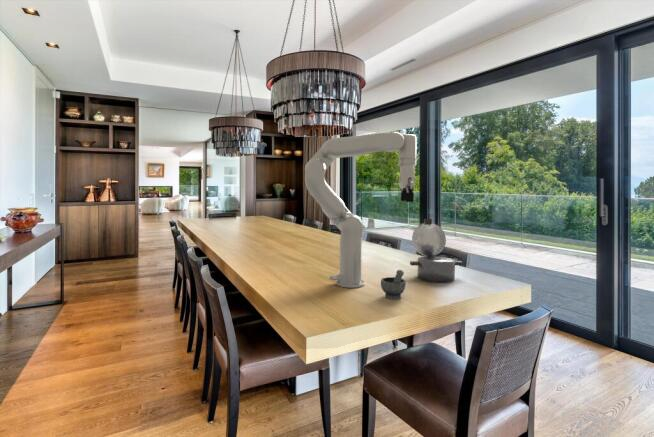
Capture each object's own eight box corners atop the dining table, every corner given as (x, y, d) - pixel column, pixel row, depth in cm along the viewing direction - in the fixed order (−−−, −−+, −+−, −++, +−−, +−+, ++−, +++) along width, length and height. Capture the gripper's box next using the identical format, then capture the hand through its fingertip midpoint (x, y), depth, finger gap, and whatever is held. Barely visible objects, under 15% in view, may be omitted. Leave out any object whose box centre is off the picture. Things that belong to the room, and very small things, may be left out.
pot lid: (411, 218, 181) (410, 219, 184) (413, 256, 178) (411, 256, 181) (444, 218, 182) (442, 219, 185) (446, 256, 179) (444, 256, 182)
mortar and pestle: (376, 294, 144) (377, 265, 143) (397, 292, 148) (397, 264, 146) (390, 303, 134) (391, 272, 133) (412, 300, 137) (412, 270, 136)
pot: (415, 283, 162) (416, 263, 161) (405, 273, 180) (405, 255, 179) (468, 282, 163) (469, 263, 162) (452, 273, 181) (453, 255, 180)
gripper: (395, 164, 167) (394, 200, 169) (403, 161, 150) (403, 202, 152) (410, 164, 167) (410, 200, 169) (421, 161, 150) (420, 202, 152)
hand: (407, 201), depth 160 cm, fingers open, 9 cm apart
